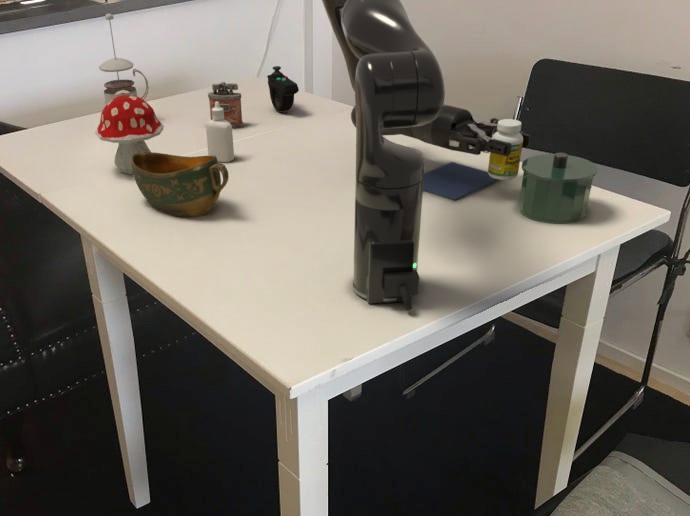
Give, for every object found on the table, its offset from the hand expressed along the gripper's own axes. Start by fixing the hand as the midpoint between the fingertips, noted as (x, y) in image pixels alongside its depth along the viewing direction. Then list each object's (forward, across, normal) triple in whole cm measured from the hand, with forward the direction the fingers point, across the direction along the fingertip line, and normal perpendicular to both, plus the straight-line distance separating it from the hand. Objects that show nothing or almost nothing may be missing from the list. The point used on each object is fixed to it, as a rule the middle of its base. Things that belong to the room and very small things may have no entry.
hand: (519, 145), depth 134 cm
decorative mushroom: (-66, -38, +11) cm, 77 cm away
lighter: (-74, -6, +11) cm, 75 cm away
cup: (-42, -43, +10) cm, 61 cm away
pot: (+8, 0, +10) cm, 13 cm away
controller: (-72, +10, +11) cm, 73 cm away
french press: (-94, -21, +11) cm, 97 cm away
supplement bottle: (-3, 0, +6) cm, 7 cm away
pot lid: (+8, 0, +2) cm, 8 cm away
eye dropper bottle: (-57, -22, +11) cm, 62 cm away
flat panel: (-13, 0, +10) cm, 16 cm away
